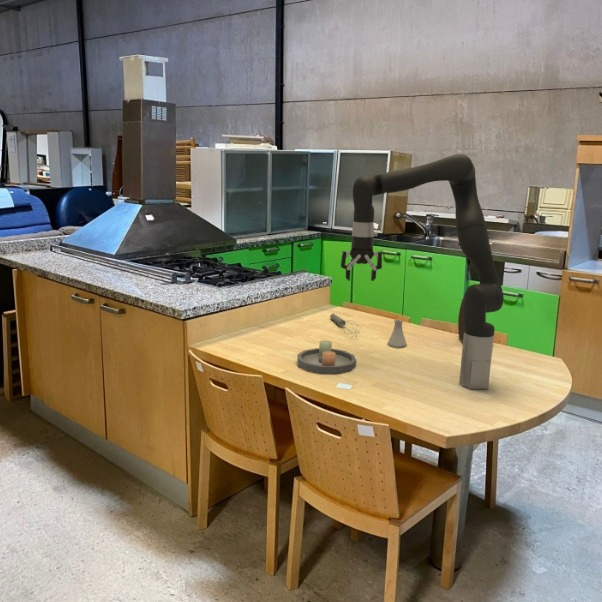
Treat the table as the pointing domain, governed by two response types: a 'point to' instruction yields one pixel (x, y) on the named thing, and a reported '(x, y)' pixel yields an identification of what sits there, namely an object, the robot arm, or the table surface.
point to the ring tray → (313, 363)
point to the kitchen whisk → (342, 322)
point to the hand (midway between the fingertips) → (360, 280)
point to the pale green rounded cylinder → (324, 346)
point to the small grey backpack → (460, 322)
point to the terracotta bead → (328, 358)
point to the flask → (397, 336)
